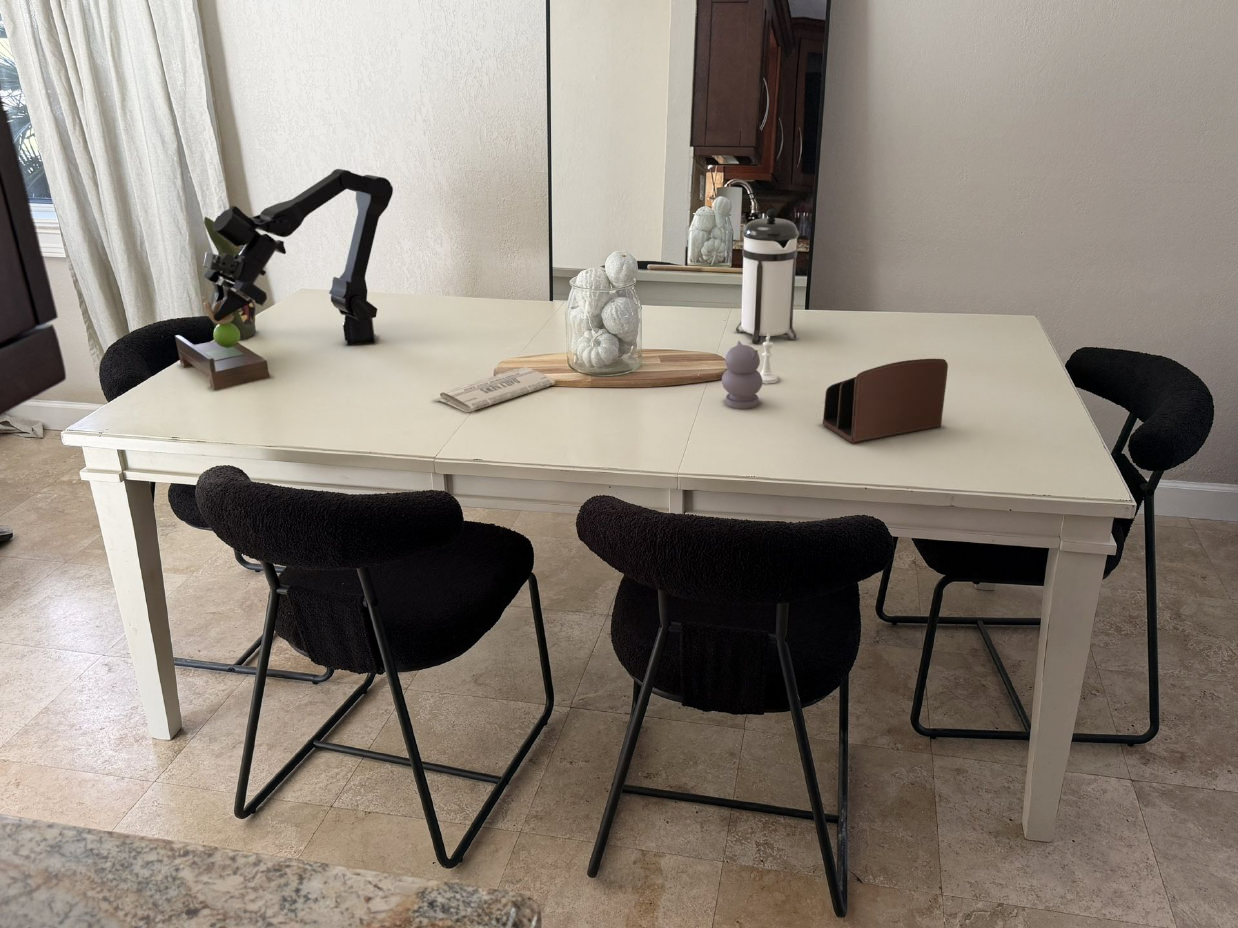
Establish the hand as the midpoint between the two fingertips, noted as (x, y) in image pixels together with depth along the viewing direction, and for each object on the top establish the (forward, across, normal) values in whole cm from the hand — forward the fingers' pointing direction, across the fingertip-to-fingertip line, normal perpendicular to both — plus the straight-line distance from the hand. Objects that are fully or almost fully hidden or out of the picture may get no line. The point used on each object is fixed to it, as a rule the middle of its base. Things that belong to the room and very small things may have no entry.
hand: (213, 319), depth 217 cm
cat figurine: (-36, +93, +56) cm, 114 cm away
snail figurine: (+4, 0, +6) cm, 7 cm away
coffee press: (-63, +67, +84) cm, 124 cm away
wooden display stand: (+8, -3, +10) cm, 13 cm away
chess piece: (-46, +88, +66) cm, 119 cm away
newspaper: (-15, +52, +34) cm, 64 cm away
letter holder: (-42, +119, +62) cm, 141 cm away
